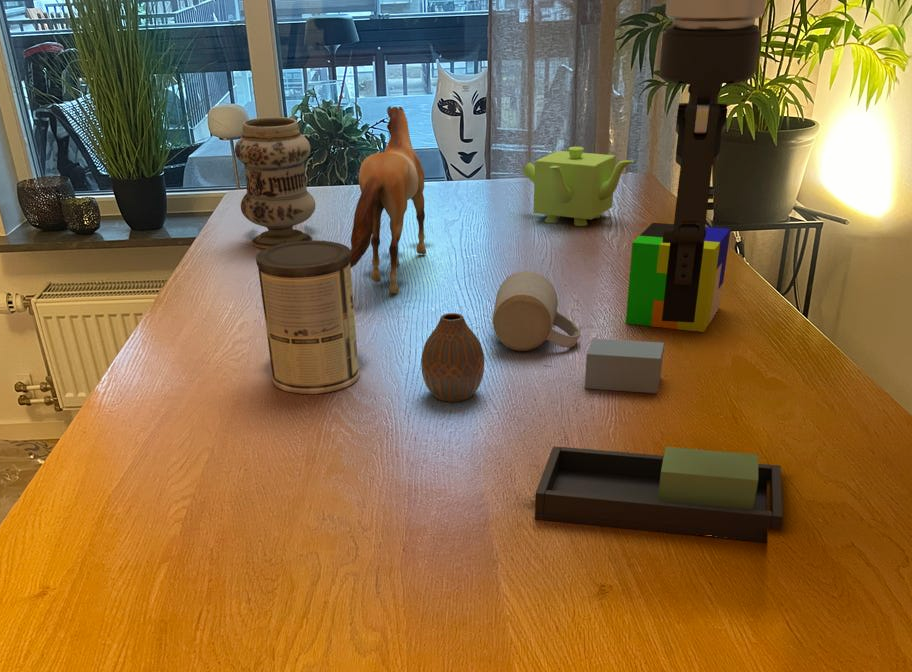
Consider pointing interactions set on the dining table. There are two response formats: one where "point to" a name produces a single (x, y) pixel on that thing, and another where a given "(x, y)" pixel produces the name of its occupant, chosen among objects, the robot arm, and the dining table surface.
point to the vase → (452, 360)
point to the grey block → (624, 365)
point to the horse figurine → (388, 196)
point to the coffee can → (309, 315)
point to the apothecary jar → (275, 179)
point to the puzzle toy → (652, 274)
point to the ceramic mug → (530, 313)
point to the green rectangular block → (709, 478)
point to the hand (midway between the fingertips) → (680, 296)
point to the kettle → (574, 184)
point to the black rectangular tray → (644, 497)
